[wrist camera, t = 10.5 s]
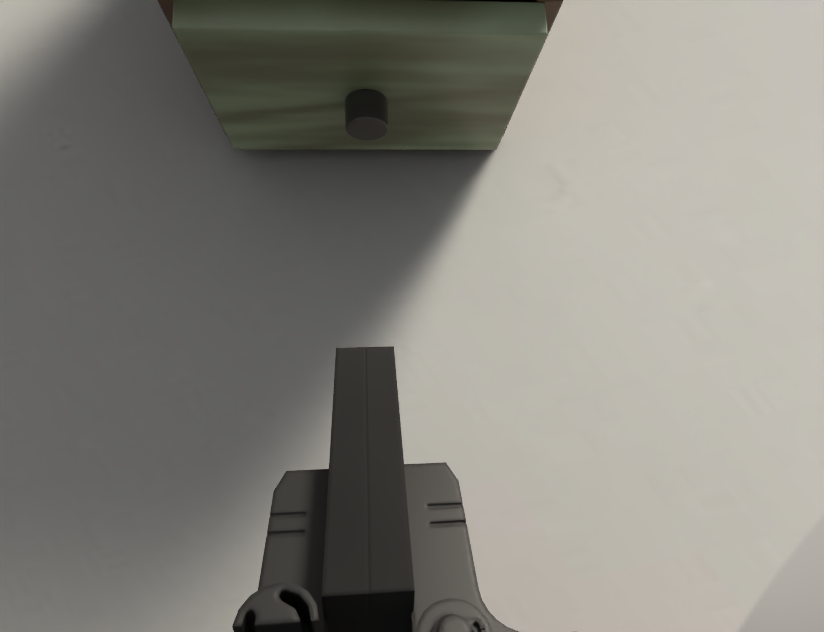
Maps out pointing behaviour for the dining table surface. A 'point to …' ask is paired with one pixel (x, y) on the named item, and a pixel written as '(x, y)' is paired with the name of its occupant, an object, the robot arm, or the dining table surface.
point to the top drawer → (362, 70)
